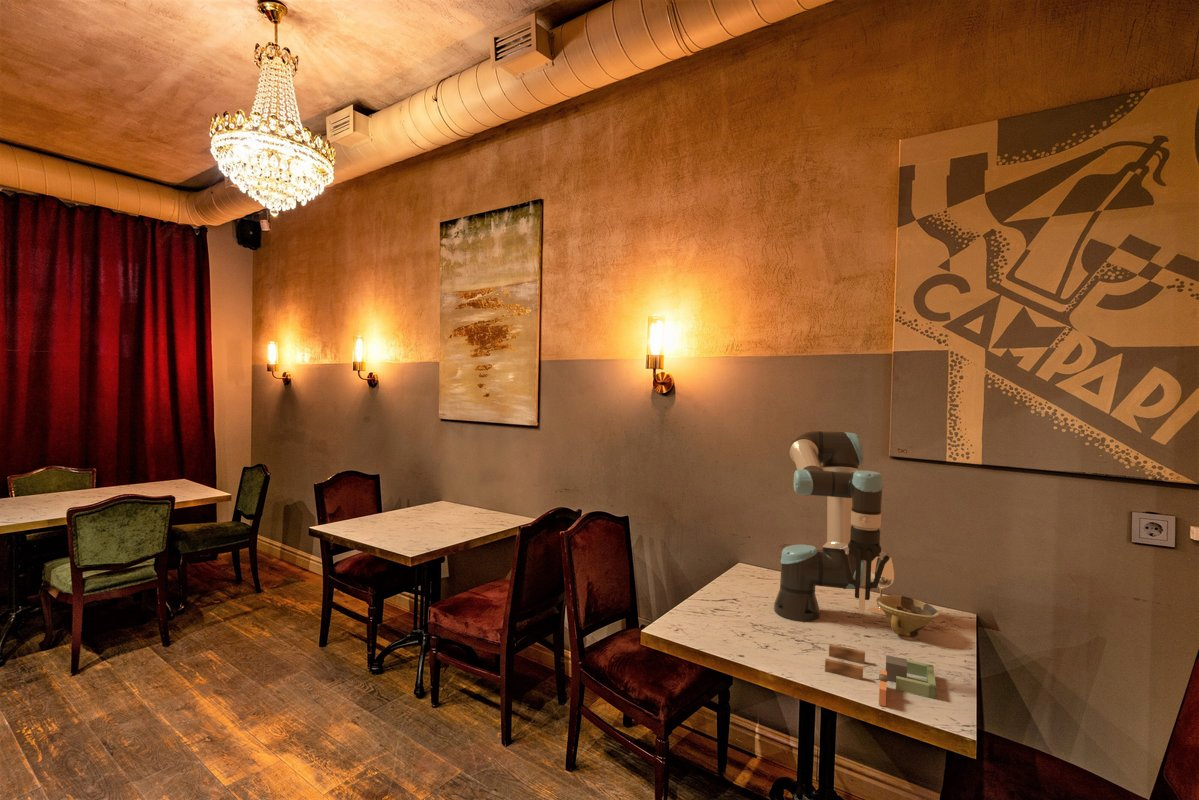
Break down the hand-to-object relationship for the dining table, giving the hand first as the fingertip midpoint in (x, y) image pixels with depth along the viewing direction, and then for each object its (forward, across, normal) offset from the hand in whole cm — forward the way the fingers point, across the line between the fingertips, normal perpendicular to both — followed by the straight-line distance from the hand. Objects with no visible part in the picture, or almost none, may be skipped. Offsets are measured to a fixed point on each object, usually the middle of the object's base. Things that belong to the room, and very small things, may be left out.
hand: (861, 610), depth 160 cm
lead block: (+17, +9, -1) cm, 19 cm away
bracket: (+17, +14, -1) cm, 22 cm away
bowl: (+18, +12, +35) cm, 41 cm away
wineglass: (+18, +4, +51) cm, 54 cm away
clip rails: (+17, -4, -1) cm, 17 cm away
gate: (+16, +6, -13) cm, 22 cm away
